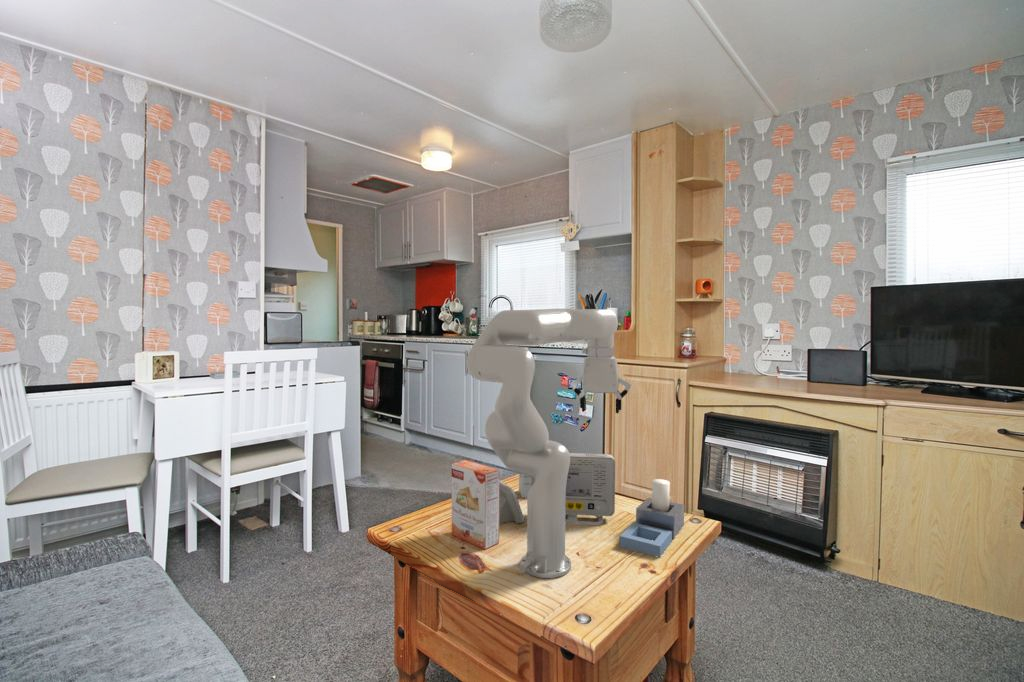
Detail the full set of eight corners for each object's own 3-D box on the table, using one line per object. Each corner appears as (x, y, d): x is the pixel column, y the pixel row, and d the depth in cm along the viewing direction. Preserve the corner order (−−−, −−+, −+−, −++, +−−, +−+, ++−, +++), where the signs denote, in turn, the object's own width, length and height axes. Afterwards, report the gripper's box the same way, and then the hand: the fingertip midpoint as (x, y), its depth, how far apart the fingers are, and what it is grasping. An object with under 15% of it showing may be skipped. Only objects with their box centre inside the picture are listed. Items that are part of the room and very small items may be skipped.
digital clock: (525, 525, 148) (525, 490, 148) (496, 528, 146) (496, 492, 146) (513, 505, 164) (513, 474, 164) (486, 507, 162) (487, 475, 162)
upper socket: (673, 539, 139) (674, 516, 139) (635, 530, 145) (636, 508, 145) (683, 526, 148) (684, 504, 148) (647, 518, 154) (648, 497, 154)
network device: (612, 514, 157) (613, 452, 156) (615, 526, 148) (616, 460, 148) (532, 511, 160) (532, 450, 159) (530, 522, 151) (531, 457, 150)
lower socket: (660, 557, 128) (660, 546, 128) (619, 546, 134) (619, 536, 134) (671, 542, 138) (671, 531, 137) (633, 532, 144) (633, 522, 144)
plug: (666, 519, 143) (667, 485, 143) (649, 515, 146) (649, 482, 146) (671, 514, 147) (671, 481, 147) (654, 510, 150) (655, 478, 150)
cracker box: (450, 535, 141) (450, 463, 140) (466, 529, 145) (466, 458, 145) (484, 551, 132) (484, 473, 131) (500, 543, 136) (500, 468, 135)
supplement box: (518, 491, 178) (518, 456, 178) (538, 490, 179) (539, 456, 179) (521, 498, 171) (521, 462, 171) (542, 497, 172) (542, 461, 171)
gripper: (568, 353, 141) (568, 412, 142) (630, 354, 136) (630, 415, 137) (573, 351, 148) (573, 407, 149) (632, 352, 143) (632, 410, 144)
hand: (600, 411), depth 143 cm, fingers open, 9 cm apart
